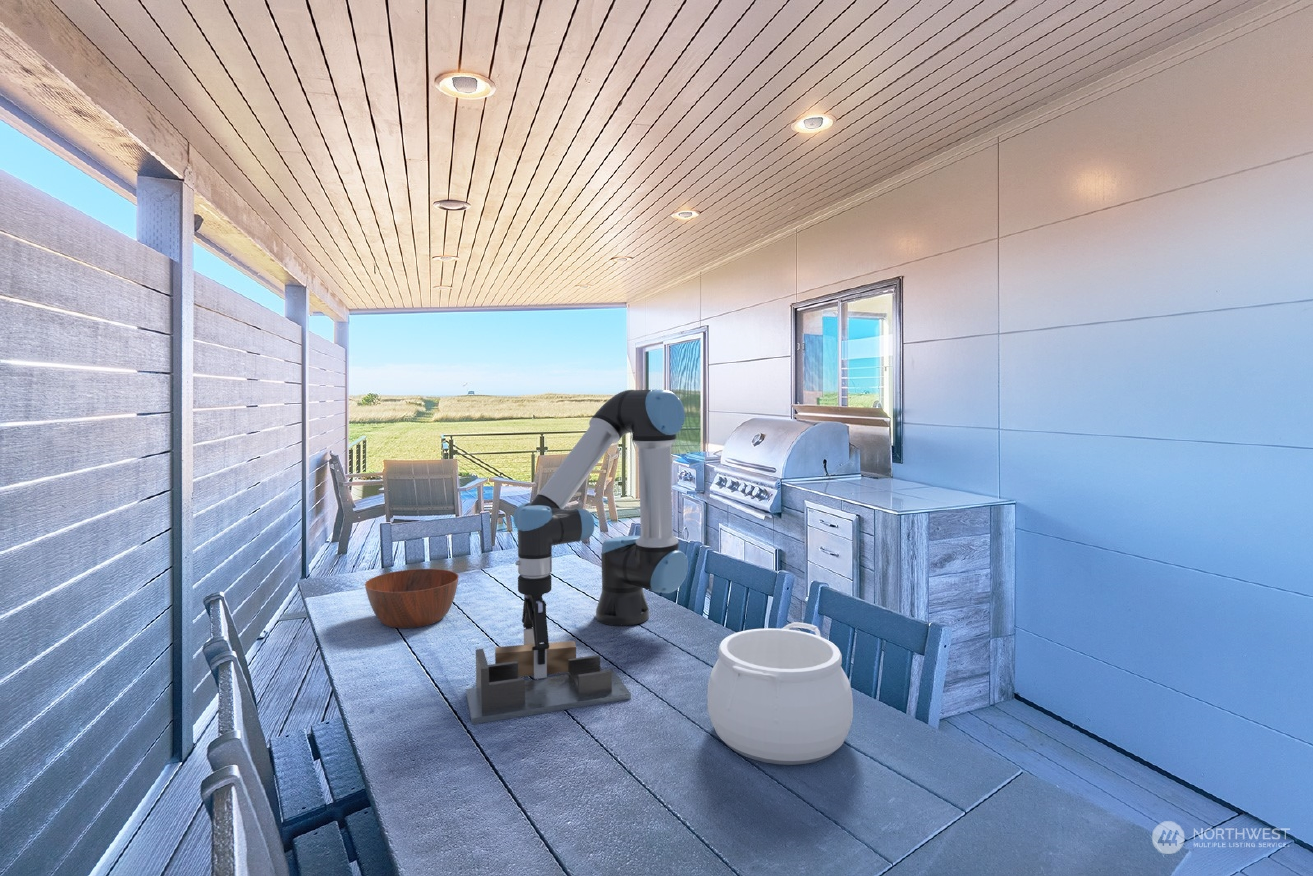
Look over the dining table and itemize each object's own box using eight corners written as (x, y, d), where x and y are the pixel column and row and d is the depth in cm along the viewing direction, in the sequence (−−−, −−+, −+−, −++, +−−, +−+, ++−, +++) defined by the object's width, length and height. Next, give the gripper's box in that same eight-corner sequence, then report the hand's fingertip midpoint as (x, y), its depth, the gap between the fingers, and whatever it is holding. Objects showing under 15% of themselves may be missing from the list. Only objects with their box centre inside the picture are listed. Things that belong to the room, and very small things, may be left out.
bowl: (345, 627, 186) (344, 586, 185) (410, 602, 209) (409, 565, 208) (417, 640, 176) (416, 596, 176) (477, 611, 199) (476, 573, 199)
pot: (823, 796, 107) (824, 689, 106) (677, 750, 121) (677, 655, 120) (871, 722, 131) (872, 634, 130) (745, 691, 145) (746, 611, 144)
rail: (574, 666, 159) (574, 641, 159) (576, 672, 156) (576, 647, 155) (495, 673, 155) (495, 647, 155) (495, 680, 152) (495, 653, 151)
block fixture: (611, 673, 154) (611, 630, 154) (630, 699, 141) (630, 651, 141) (466, 694, 143) (465, 648, 143) (471, 724, 130) (471, 673, 130)
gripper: (510, 563, 165) (510, 649, 166) (527, 590, 141) (527, 690, 142) (540, 561, 167) (540, 646, 168) (563, 586, 144) (562, 685, 145)
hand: (534, 666), depth 155 cm, fingers open, 13 cm apart
